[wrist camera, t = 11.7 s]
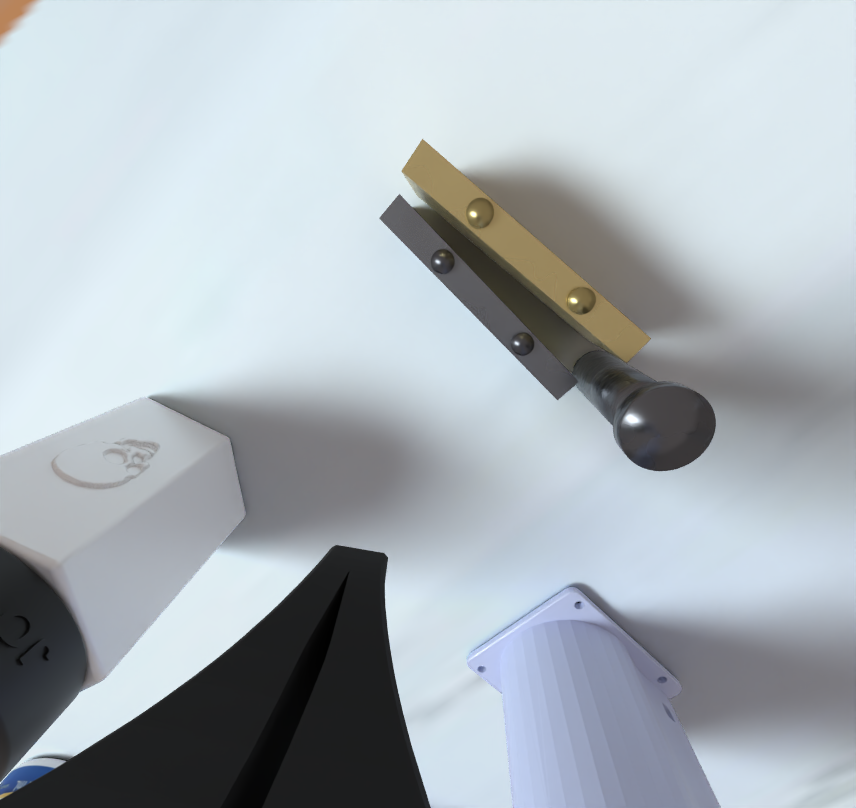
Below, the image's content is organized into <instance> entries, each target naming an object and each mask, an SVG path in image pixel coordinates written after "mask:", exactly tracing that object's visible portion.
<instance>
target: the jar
mask: <svg viewBox="0 0 856 808" xmlns="http://www.w3.org/2000/svg"><path fill="white" fill-rule="evenodd" d="M245 515H246V511H245V507H244V502H243V498H242V493H241V489H240V484H239V479H238V475H237V470H236V465H235V461H234V456H233V451H232V446H231V441H230V439H229V438H228V437H227V436H225V435H223V434H221V433H219V432H217V431H215V430H213V429H210V428H208V427H206V426H204V425H202V424H200V423H198V422H196V421H194V420H192V419H190V418H188V417H186V416H184V415H182V414H180V413H178V412H176V411H174V410H172V409H170V408H168V407H166V406H164V405H162V404H160V403H158V402H156V401H154V400H152V399H150V398H147V397H141V398H139V399H136V400H134V401H132V402H129V403H127V404H124V405H122V406H119V407H117V408H115V409H112V410H110V411H107V412H105V413H102V414H100V415H98V416H95V417H93V418H90V419H88V420H85V421H83V422H81V423H78V424H76V425H73V426H71V427H68V428H66V429H64V430H61V431H59V432H56V433H54V434H51V435H49V436H47V437H44V438H42V439H39V440H37V441H34V442H32V443H30V444H27V445H25V446H22V447H20V448H17V449H15V450H13V451H10V452H8V453H5V454H3V455H0V782H1V781H2V780H3V779H4V777H5V776H6V775H7V774H8V773H9V772H10V771H11V770H12V768H13V767H14V766H15V765H16V764H17V763H18V762H19V761H20V760H21V758H22V757H23V756H24V755H25V754H26V753H27V752H28V751H29V749H30V748H31V747H32V746H33V745H34V744H35V743H36V742H37V741H38V739H39V738H40V737H41V736H42V735H43V734H44V733H45V732H46V730H47V729H48V728H49V727H50V726H51V725H52V724H53V723H54V721H55V720H56V719H57V718H58V717H59V716H60V715H61V714H62V713H63V711H64V710H65V709H66V708H67V707H68V706H69V705H70V704H71V702H72V701H73V700H74V699H75V698H76V696H77V695H78V693H79V692H81V691H83V690H85V689H87V688H89V687H91V686H93V685H95V684H97V683H99V682H101V681H103V680H104V679H105V678H106V677H107V676H108V675H109V674H110V673H111V672H112V670H113V669H114V668H115V667H116V666H117V665H118V663H119V662H120V661H121V660H122V659H123V658H124V657H125V655H126V654H127V653H128V652H129V651H130V650H131V648H132V647H133V646H134V645H135V644H136V643H137V641H138V640H139V639H140V638H141V637H142V636H143V635H144V633H145V632H146V631H147V630H148V629H149V628H150V626H151V625H152V624H153V623H154V622H155V621H156V619H157V618H158V617H159V616H160V615H161V614H162V612H163V611H164V610H165V609H166V608H167V607H168V606H169V604H170V603H171V602H172V601H173V600H174V599H175V597H176V596H177V595H178V594H179V593H180V592H181V590H182V589H183V588H184V587H185V586H186V585H187V584H188V582H189V581H190V580H191V579H192V578H193V577H194V575H195V574H196V573H197V572H198V571H199V570H200V568H201V567H202V566H203V565H204V564H205V563H206V562H207V560H208V559H209V558H210V557H211V556H212V555H213V553H214V552H215V551H216V550H217V549H218V548H219V546H220V545H221V544H222V543H223V542H224V541H225V539H226V538H227V537H228V536H229V535H230V534H231V533H232V531H233V530H234V529H235V528H236V527H237V526H238V524H239V523H240V522H241V521H242V520H243V519H244V517H245Z"/></svg>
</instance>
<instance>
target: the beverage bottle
mask: <svg viewBox="0 0 856 808" xmlns="http://www.w3.org/2000/svg"><path fill="white" fill-rule="evenodd" d="M65 762H66V761H64V760H60V759H53V758H38V759H32V760H29V761H26V762H24V763H22V764H20V765H19V766H17V767H16V768H15V769H14V770H13V771H11V773H10V774H9V775H8V776H7V777H6V778H5V779H4V780H3V782H2V783H1V784H0V799H2V798H4V797H6V796H7V795H9V794H11V793H13V792H14V791H16V790H18V789H20V788H21V787H23V786H25V785H27V784H29V783H30V782H32V781H34V780H36V779H37V778H39V777H41V776H43V775H44V774H46V773H48V772H50V771H51V770H53V769H55V768H56V767H58V766H60V765H61V764H63V763H65Z"/></svg>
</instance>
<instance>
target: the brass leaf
mask: <svg viewBox="0 0 856 808" xmlns="http://www.w3.org/2000/svg"><path fill="white" fill-rule="evenodd" d="M402 173H403V174H404V176H405V178H406V179H407V181H408V182H409V184H410V185H411V187H412V188H413V190H414V191H415V193H416V195H417V196H418V197H419V198H420V199H421V200H423V201H424V202H425V203H426V204H427V205H429V206H430V207H431V208H432V209H433V210H434V211H436V212H437V213H438V214H439V215H440V216H441V217H443V218H444V219H445V220H446V221H447V222H449V223H450V224H451V225H452V226H453V227H454V228H456V229H457V230H458V231H459V232H460V233H462V234H463V235H464V236H465V237H466V238H467V239H469V240H470V241H471V242H472V243H473V244H475V245H476V246H477V247H478V248H479V249H480V250H482V251H483V252H484V253H485V254H486V255H488V256H489V257H490V258H491V259H492V260H493V261H495V262H496V263H497V264H498V265H499V266H501V267H502V268H503V269H504V270H505V271H506V272H508V273H509V274H510V275H511V276H512V277H513V278H515V279H516V280H517V281H518V282H519V283H521V284H522V285H523V286H524V287H525V288H526V289H528V290H529V291H530V292H531V293H532V294H534V295H535V296H536V297H537V298H538V299H539V300H541V301H542V302H543V303H544V304H545V305H547V306H548V307H549V308H550V309H551V310H552V311H554V312H555V313H556V314H557V315H558V316H560V317H561V318H562V319H563V320H564V321H565V322H567V323H568V324H569V325H570V326H571V327H573V328H574V329H575V330H576V331H577V332H578V333H580V334H581V335H582V336H583V337H584V338H585V339H587V340H589V341H590V342H592V343H594V344H595V345H597V346H599V347H600V348H602V349H604V350H605V351H607V352H609V353H610V354H612V355H614V356H615V357H617V358H619V359H621V360H622V361H624V362H626V363H628V362H629V361H630V360H631V358H632V357H633V356H634V355H635V354H636V353H637V352H638V351H639V350H640V349H641V348H642V347H643V346H644V345H645V344H646V343H647V342H648V341H649V340H650V339H651V338H650V337H649V336H647V335H646V334H645V333H644V332H643V331H642V330H641V329H639V328H638V327H637V326H636V325H635V324H634V323H633V322H631V321H630V320H629V319H628V318H627V317H626V316H625V315H623V314H622V313H621V312H620V311H619V310H618V309H617V308H615V307H614V306H613V305H612V304H611V303H610V302H609V301H607V300H606V299H605V298H604V297H603V296H602V295H601V294H599V293H598V292H597V291H596V290H595V289H594V288H593V287H591V286H590V285H589V284H588V283H587V282H586V281H585V280H583V279H582V278H581V277H580V276H579V275H578V274H577V273H575V272H574V271H573V270H572V269H571V268H570V267H569V266H567V265H566V264H565V263H564V262H563V261H562V260H560V259H559V258H558V257H557V256H556V255H555V254H554V253H552V252H551V251H550V250H549V249H548V248H547V247H546V246H544V245H543V244H542V243H541V242H540V241H539V240H538V239H536V238H535V237H534V236H533V235H532V234H531V233H530V232H528V231H527V230H526V229H525V228H524V227H523V226H522V225H520V224H519V223H518V222H517V221H516V220H515V219H514V218H512V217H511V216H510V215H509V214H508V213H507V212H506V211H504V210H503V209H502V208H501V207H500V206H499V205H498V204H496V203H495V202H494V201H493V200H492V199H491V198H490V197H488V196H487V195H486V194H485V193H484V192H483V191H482V190H480V189H479V188H478V187H477V186H476V185H475V184H474V183H472V182H471V181H470V180H469V179H468V178H467V177H466V176H464V175H463V174H462V173H461V172H460V171H459V170H457V169H456V168H455V167H454V166H453V165H452V164H451V163H449V162H448V161H447V160H446V159H445V158H444V157H443V156H441V155H440V154H439V153H438V152H437V151H436V150H435V149H433V148H432V147H431V146H430V145H429V144H428V143H427V142H425V141H424V140H423V139H422V141H421V142H420V144H419V145H418V147H417V148H416V150H415V151H414V153H413V154H412V156H411V157H410V159H409V160H408V162H407V164H406V165H405V167H404V168H403V170H402Z"/></svg>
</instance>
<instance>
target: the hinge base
mask: <svg viewBox="0 0 856 808" xmlns="http://www.w3.org/2000/svg"><path fill="white" fill-rule="evenodd" d="M380 219H381V221H382V222H383V223H384V224H385V225H386V226H387V227H388V228H389V229H390V230H391V231H392V232H393V233H394V234H395V235H396V236H397V237H398V238H399V239H400V240H401V241H402V242H403V243H404V244H405V245H406V246H407V247H408V248H409V249H410V250H411V251H412V252H413V253H414V254H415V255H416V256H417V257H418V258H419V259H420V260H421V261H422V262H423V263H424V264H425V265H426V266H427V267H428V268H429V269H430V271H431V272H432V273H433V274H434V275H435V276H436V277H437V278H438V279H439V280H440V281H441V282H442V283H443V284H444V285H445V286H446V287H447V288H448V289H449V290H450V291H451V292H452V293H453V294H454V295H455V296H456V297H457V298H458V299H459V300H460V301H461V302H462V303H463V304H464V305H465V306H466V307H467V308H468V309H469V310H470V311H471V312H472V313H473V314H474V315H475V316H476V317H477V318H478V319H479V321H480V322H481V323H482V324H483V325H484V326H485V327H486V328H487V329H488V330H489V331H490V332H491V333H492V334H493V335H494V336H495V337H496V338H497V339H498V340H499V341H500V342H501V343H502V344H503V345H504V346H505V347H506V348H507V349H508V350H509V351H510V352H511V353H512V354H513V355H514V356H515V357H516V358H517V359H518V360H519V361H520V362H521V363H522V364H523V365H524V366H525V367H526V368H527V370H528V371H529V372H530V373H531V374H532V375H533V376H534V377H535V378H536V379H537V380H538V381H539V382H540V383H541V384H542V385H543V386H544V387H545V388H546V389H547V390H548V391H549V392H550V393H551V394H552V395H553V396H554V397H555V398H556V399H557V400H558V399H559V398H561V397H562V396H563V395H564V394H565V393H566V392H568V391H569V390H570V389H571V388H572V387H573V386H575V385H576V387H577V388H578V389H579V390H580V391H581V392H582V393H583V395H584V396H585V397H586V398H587V399H588V400H589V401H590V402H591V403H592V404H593V405H594V406H595V407H596V408H597V409H598V410H599V412H600V413H601V414H602V415H603V416H604V417H605V418H606V419H607V420H608V421H609V422H610V423H611V424H612V425H613V434H614V438H615V440H616V443H617V444H618V446H619V447H620V448H621V450H622V451H623V452H624V453H625V454H626V455H627V457H628V458H629V459H630V460H631V461H632V462H634V463H635V464H637V465H638V466H640V467H642V468H645V469H648V470H653V471H668V470H674V469H678V468H680V467H683V466H685V465H687V464H689V463H691V462H692V461H694V460H695V459H697V458H698V457H699V456H700V455H701V454H702V453H703V452H704V451H705V450H706V449H707V447H708V446H709V444H710V442H711V440H712V438H713V436H714V432H715V426H716V420H715V414H714V411H713V409H712V407H711V405H710V404H709V402H708V401H707V400H706V399H705V398H704V397H703V396H701V395H700V394H699V393H697V392H695V391H693V390H691V389H689V388H688V387H686V386H684V385H681V384H678V383H674V382H665V381H664V382H656V381H655V380H653V379H651V378H650V377H648V376H646V375H645V374H643V373H641V372H640V371H638V370H636V369H635V368H633V367H631V366H630V365H628V364H626V363H625V362H623V361H621V360H620V359H618V358H616V357H615V356H613V355H611V354H610V353H608V352H605V351H593V352H589V353H587V354H585V355H584V356H582V357H581V358H580V359H579V360H578V361H577V363H576V364H575V366H574V369H573V375H572V374H571V373H570V372H569V371H568V370H567V369H566V368H565V367H564V366H563V365H562V364H561V363H560V362H559V361H558V360H557V358H556V357H555V356H554V355H553V354H552V353H551V352H550V351H549V350H548V349H547V348H546V347H545V346H544V345H543V344H542V343H541V342H540V341H539V340H538V339H537V338H536V337H535V335H534V334H533V333H532V332H531V331H530V330H529V329H528V328H527V327H526V326H525V325H524V324H523V323H522V322H521V321H520V320H519V319H518V318H517V317H516V316H515V315H514V313H513V312H512V311H511V310H510V309H509V308H508V307H507V306H506V305H505V304H504V303H503V302H502V301H501V300H500V299H499V298H498V297H497V296H496V295H495V294H494V293H493V292H492V290H491V289H490V288H489V287H488V286H487V285H486V284H485V283H484V282H483V281H482V280H481V279H480V278H479V277H478V276H477V275H476V274H475V273H474V272H473V271H472V270H471V269H470V267H469V266H468V265H467V264H466V263H465V262H464V261H463V260H462V259H461V258H460V257H459V256H458V255H457V254H456V253H455V252H454V251H453V250H452V249H451V248H450V247H449V245H448V244H447V243H446V242H445V241H444V240H443V239H442V238H441V237H440V236H439V235H438V234H437V233H436V232H435V231H434V230H433V229H432V228H431V227H430V226H429V225H428V224H427V222H426V221H425V220H424V219H423V218H422V217H421V216H420V215H419V214H418V213H417V212H416V211H415V210H414V209H413V208H412V207H411V206H410V205H409V204H408V203H407V202H406V201H405V199H404V198H403V197H402V196H401V195H400V194H399V195H398V196H397V198H396V199H395V200H394V201H393V202H392V204H391V205H390V206H389V207H388V208H387V210H386V211H385V212H384V213H383V214H382V216H381V217H380Z"/></svg>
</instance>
